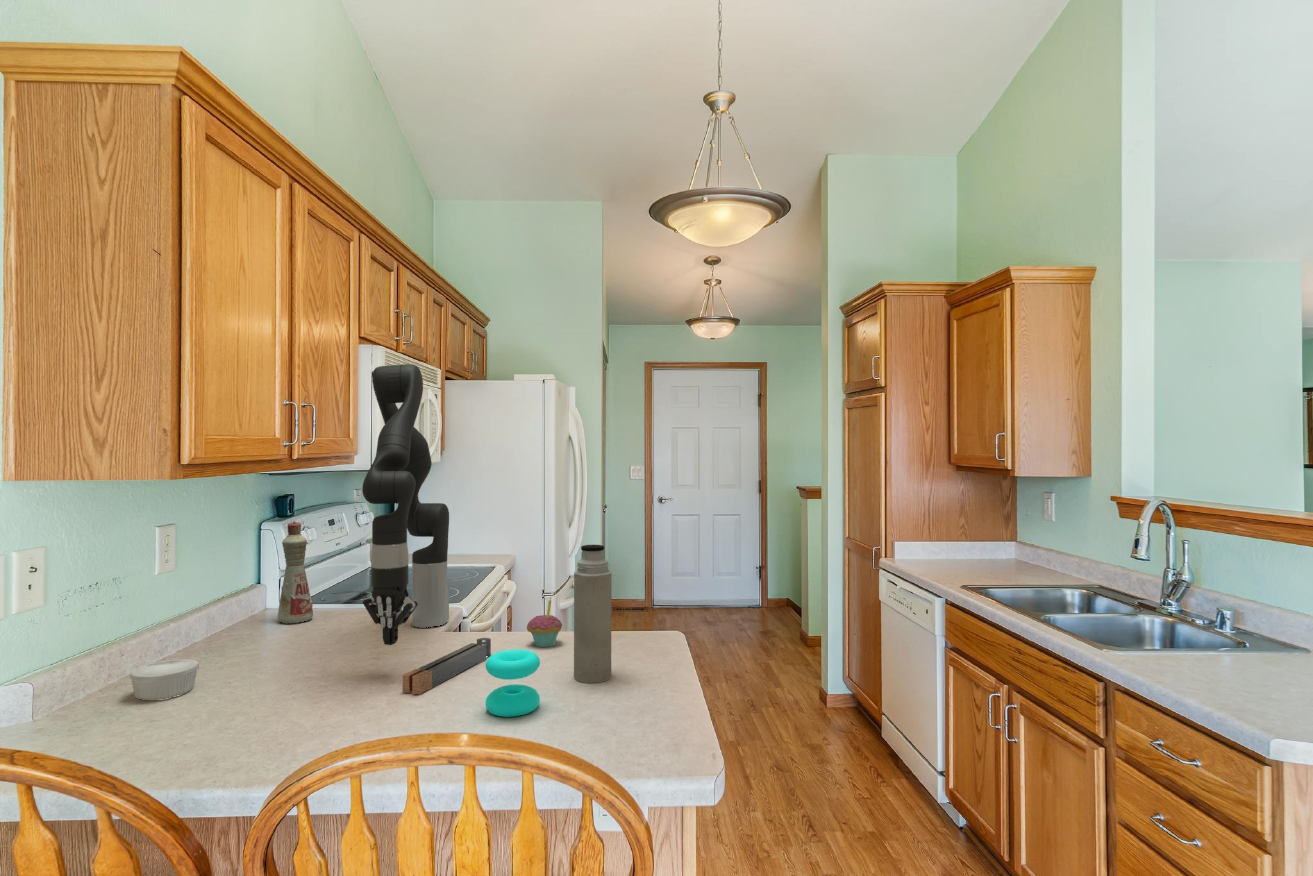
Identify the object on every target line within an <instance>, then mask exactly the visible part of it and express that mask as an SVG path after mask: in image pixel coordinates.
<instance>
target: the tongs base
mask: <svg viewBox="0 0 1313 876" xmlns="http://www.w3.org/2000/svg"><path fill="white" fill-rule="evenodd" d="M491 641H492V639H491V638H489V637H481V638H477V639H476V644H477V646H475V647H473V648H471V649H469V650H467V651H465V652H463V653H461V654H459V655H457V656H455V657H453V658H451V659H449V660H447V661H445V662H443V663H441V664H439V665H437V666H434V667H432V668H430V669H428V670H424V671H422V672H420V673H418V674H416V675H414V676H412V692H411V694H413V695H414V694H415V695H421V694H423V693H424V692H426V691H428V690H430V689H432V688H434V687H436V686H438V685H440V684H441V683H444V682H445V681H447V680H449V679H451V678H452V677H455V676H456V674H457V675H458V674H460V673H462V672H464V671H465V670H467V669H470V668H472V667H474V666H476V665H477V664H479V663H481V662H483V661H485V660H487V658H486V656H490V655H492V654H491V653H492V647H491V646H492V644H491V643H492V642H491ZM480 661H481V662H480ZM476 663H477V664H476ZM469 667H470V668H469Z"/></svg>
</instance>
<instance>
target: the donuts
mask: <svg viewBox="0 0 1313 876" xmlns="http://www.w3.org/2000/svg"><path fill="white" fill-rule="evenodd" d="M540 664H541V660H540V656H539V655H538V654H537V653H536V652H534V651H531V650H528V649H506V650H501V651H498V652H495V653H493V654H491V656H490V657H487V658H486V661H485V669H486V671H487V673H488V674H489V675H490V676H491V677H493V678H496V679H500V680H504V681H505V680H509V681H511V680H512V681H513V680H519V679H523V678H527V677H529V676H531V675H533V674H535V673H536V671H538V669H539V667H540ZM540 697H541V696H540V694H539V692H538V691H537V689H535V688H534V687H531V686H528V685H525V684H518V683H517V684H507V685H503V686H500V687H497V688H495V689H494V690H492V691H491V692H489V694H488V695H487V696H486V699H485V708H486V710H487V711H488V712H489V713H490V714H492V715H495V716H498V717H502V716H503V717H505V718H510V717H511V718H512V717H513V718H515V717H521V716H525V715H527V714H530V713H531V712H533V711H535V710H536V709H537V708H538V707H539V704H540V701H541V700H540V699H541V698H540ZM520 715H521V716H520Z"/></svg>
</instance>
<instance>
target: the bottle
mask: <svg viewBox="0 0 1313 876" xmlns="http://www.w3.org/2000/svg"><path fill="white" fill-rule="evenodd" d="M286 526H287V536H286V537H284V539H283V540H282V542H281V543H282V548H283V553H284V559H285V570H284V576H283V581H282V585H281V593H280V598H279V604H278V610H277V611H278V612H277V620H278V621H279V623H280V622H282V623H281V624H284V623H296V622H301V623H305V622H304V621H306V622H308V621H310V620H311V619H312V618H313V617H314V610H313V606H314V604H313V601H312V597H311V593H310V589H309V588H310V587H309V583H308V579H307V578H308V577H307V572H306V569H305V557H306V551H307V543H308V539H307V538H306V537H305V536H304V535H302V523H301V522H296V520H295V521H293V522H290V523H287V525H286ZM296 624H297V623H296Z"/></svg>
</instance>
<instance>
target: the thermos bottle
mask: <svg viewBox="0 0 1313 876" xmlns="http://www.w3.org/2000/svg"><path fill="white" fill-rule="evenodd" d="M580 550H581V553H580V555H581V557H580V559H579V560H578V561H577V563H576V568H577V570H575V571H574V572H573V679H574V680H575V681H577V682H580V683H586V684H596V683H597V684H598V683H602V682H606V681H608V680H610V679H611V678H612V571H611V570H609V566H610V565H609V561H608V560H607V559H605V552H604V550H605V546H604V545H602V544H584V545H582V546H580Z"/></svg>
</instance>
